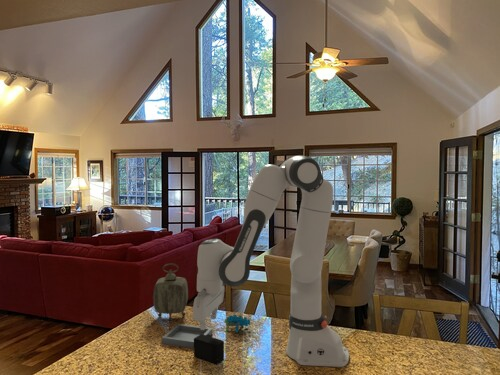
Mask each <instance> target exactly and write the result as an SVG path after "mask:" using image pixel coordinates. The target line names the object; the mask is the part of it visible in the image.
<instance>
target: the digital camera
mask: <svg viewBox="0 0 500 375" xmlns="http://www.w3.org/2000/svg"><path fill="white" fill-rule="evenodd" d="M193 358H195V359H199V360H202V361H204V362H207V363H210V364H213V365H215V366H217V365H219V364H221V363H222V362H223V361H224V360H225V341H224V340H222V339H219V338H216V337H213V335H211V336H210V335H203V334H201V335H199V336H197V337H195V338H194V349H193Z"/></svg>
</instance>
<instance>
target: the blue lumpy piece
mask: <svg viewBox="0 0 500 375" xmlns="http://www.w3.org/2000/svg"><path fill="white" fill-rule="evenodd" d="M223 323H224V324H225V325H226V330H225V331H226V332H228V331H229V327H235V333H236V334H238V333H239V329H240V327H241V328H244V326H245V327H248V326H250V325H251V319H249V318H248V317H246V316H244V317H243V315H237V314H233V315H231V314H230V315H229V316H227V317H226V318H225V319H224V322H223Z"/></svg>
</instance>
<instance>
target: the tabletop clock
mask: <svg viewBox="0 0 500 375" xmlns="http://www.w3.org/2000/svg"><path fill="white" fill-rule="evenodd" d="M167 266H175V267H176V268H177V269H175V270H173V269H169V270H165V269H164V268H165V267H167ZM178 270H179V265H178V264H176V263H173V262H172V263H170V262H169V263H166V264H164V265H163V266H162V271H164V272H165V273H167V274H166V275H165V276H164V277H160V278H158V279H157V281H156V283H155V285H154V288H153V293H152V294H153V295H152V300H153V309H154V310H155V313H158V315H157V316H158V317H160V318H161V317H162V315H163V314H168V315H169V317H168V321H169V322H171V321H173V317H172V314H180V313H181V316H182V317H185V316H186V312H185V310H186V308H187V303H188V300H189V288H188V281H187V279H186V278H185V277H181V276H176V274H175V273H176V272H178Z"/></svg>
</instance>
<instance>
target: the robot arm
mask: <svg viewBox="0 0 500 375" xmlns="http://www.w3.org/2000/svg"><path fill="white" fill-rule="evenodd" d="M290 186H291V187H294V188H299V189H300V190H301V202H300V208H299V213H298V218H297V225H296V229H295V235H294V240H293V244H292V245H293V246H292V250H291V255H290V260H289V261H290V262H289V269H290V272H291V277H290V278H291V279H290V280H291V281H290V312H289V317H288V326H289V328H288V329H289V335H288V341H287V345H286V349H285V353H286V355H287V356H288V357H289V358H291V359H293V360H295V361H296V363H297V364H298V365H301V366H313V367H316V366H317V367H333V368H334V367H335V368H337V367H338V368H343V367H345V366H346V365H347V364H348V363H349V359H350V353H349V350H348V348H347V347H345V346H343V341H342V338H341V336H340V335H339V333H337V332H336V331H334V330H333V329H332V328H331V327H329V326H328V318H327V315H323V314H322V270H323V263H324V258H325V250H326V245H327V238H328V237H327V236H328V232H329V227H330V226H329V225H330V222H331V215H332V210H333V202H334V201H333V200H334V188H333V185H332V183H331V182H330V181H328V180H327V179H326V178H325V179H324V177H323V174H322V170H321V166H320V165H319V163H318V162H317V161H316V159H314V158H312V157H311V156H307V155H294V156H289V157H288V158H286V159H284V160H283V161H282V162H281V163H280V164H278V165H277V164H269V163H268V164H264V166H262V167H261V168H260V170H259V171H258V173H257V174H256V176H255V177H254V180H253V182H252V183H251V185H250V188H249V190H248V193H247V195H246V198H245V201H244V208H243V221H242V226H241V230H240V231H239V234H238V237H237V240H236V242H235V244H234V246H232V245H231V246H230V245H229V244H226V243H225V242H223V241H222V240H221V239H219V238H211V239H206V240H204V241H202V242H201V243H200V244H199V246H198V249H197V260H196V263H197V264H196V266H197V275H196V292H198V293H197V296H196V297H195V298H194V299H193V300H194V301H193V306H192V319H193V320H194V321H198V323H199V327H200V329H201V330H205V329H206V327H207V322H206V320H207V317H208V316H210V320H215V319H216V318H217V313H218V309H219V306H220V305H221V304H223V301H224V297H225V296H224V295H225V285H226V286H229V287H234V288H235V287H237V288H238V287H240V286H243V285H244V284H245V283H246V282H247V281H248V280H249V277H250V274H251V266H250V263H251V258H252V255H253V253H254V250H255V248H256V246H257V243H258V241H259V239H260V235H261V233H262V232H263V230H264V228H265V227H266V225H267V223H268V221H270V219H271V217H272V215H273V214H274V212H275V210H276V208H277V207H278V204H279V202H280V199H281V197H282V195H283V193H284V192H285V190H286V189H287V188H288V187H290Z"/></svg>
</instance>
